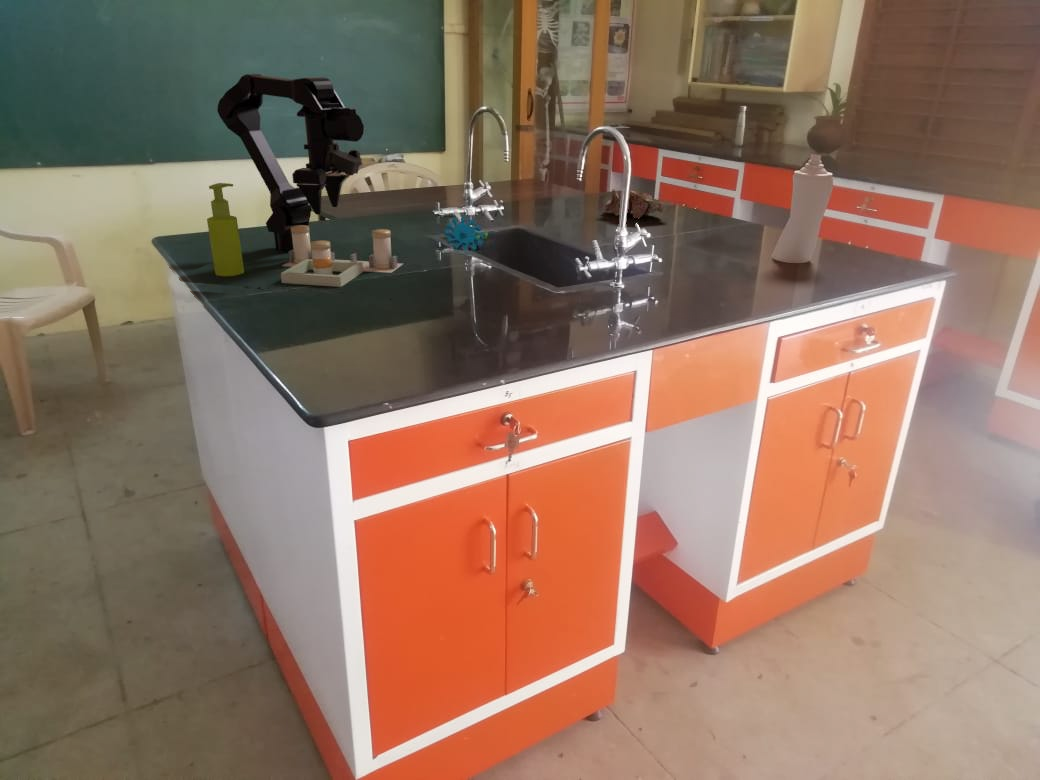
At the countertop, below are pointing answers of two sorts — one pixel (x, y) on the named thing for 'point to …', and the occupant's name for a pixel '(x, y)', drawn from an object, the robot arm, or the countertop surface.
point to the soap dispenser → (224, 236)
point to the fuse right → (382, 249)
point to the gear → (465, 234)
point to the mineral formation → (636, 204)
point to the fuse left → (301, 243)
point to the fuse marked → (321, 257)
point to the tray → (321, 275)
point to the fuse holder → (366, 265)
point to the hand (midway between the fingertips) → (326, 210)
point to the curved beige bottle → (805, 212)
